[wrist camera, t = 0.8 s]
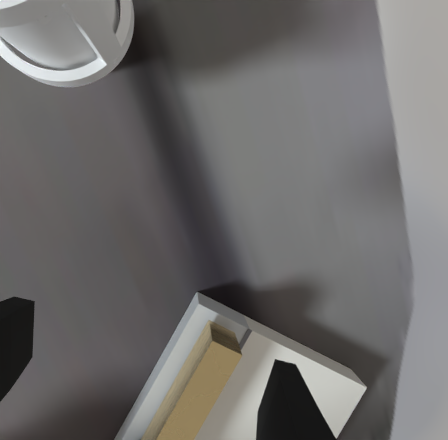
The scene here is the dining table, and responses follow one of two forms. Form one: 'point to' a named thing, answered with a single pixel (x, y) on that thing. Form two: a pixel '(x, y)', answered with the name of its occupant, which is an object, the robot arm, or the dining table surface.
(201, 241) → the dining table surface
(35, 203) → the dining table surface
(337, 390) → the white panel
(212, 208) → the dining table surface
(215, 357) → the bar
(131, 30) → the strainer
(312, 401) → the robot arm
